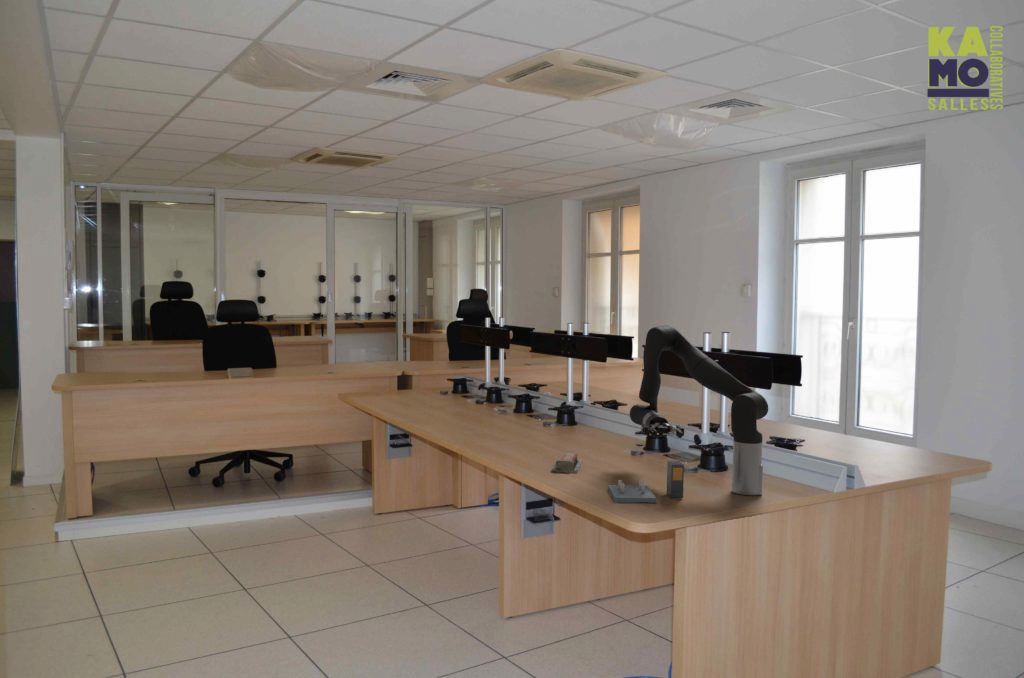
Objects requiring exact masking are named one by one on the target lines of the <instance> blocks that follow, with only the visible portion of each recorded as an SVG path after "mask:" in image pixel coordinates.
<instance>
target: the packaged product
mask: <svg viewBox="0 0 1024 678" xmlns="http://www.w3.org/2000/svg"><path fill="white" fill-rule="evenodd" d="M581 465H583V459H578V453H576V452H574V451H572V452H571V451H569V452H564V453H563V452H562V453H561V454H560V455H559V456H558V458H557V460H556V462H555V463H554V465H553V467H552V468H551V472H552V471H562V472H561V473H569V472H574V473H573V474H577V473H579V471H580V469H581V468H580V467H582V466H581Z"/></svg>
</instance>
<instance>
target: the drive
mask: <svg viewBox="0 0 1024 678" xmlns="http://www.w3.org/2000/svg"><path fill="white" fill-rule="evenodd" d="M666 465H667V466H666V467H667V468H666V495H667V494H668V495H667V497H669V498H670V499H677V498H683V499H684V480H685V479H684V478H685V477H684V475H685V473H684V472H685V464H684V463H683V462H681V460H667V464H666Z"/></svg>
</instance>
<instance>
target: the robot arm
mask: <svg viewBox="0 0 1024 678" xmlns="http://www.w3.org/2000/svg"><path fill="white" fill-rule="evenodd" d="M644 348H645V349H644V363H643V365H644V366H643V374H642V380H641V384H640V389H639V392H638V398H639V400H641V401H642V402H643V403H647V404H649V405H645V404H634V405H632V406H631V407H630V410H629V418H630V420H631V422H633V423H634V424H636V425H637V426H640V427H641V428H640V431H641V432H642V434H643V435H645V436H647V435H648V434H649V436H652V437H654V438H662V437H664V436H670V437H673V436H676V437H677V438H678V439H681V438H682V437H684V436H685V429H686V428H684V427H683V426H681V425H679V424H676V425H672V424H670V423H669V421H668V420H667V419H666V418H665V417H664V416H662V414H660V413H659V412H658V398H659V392H660V390H661V389H660V388H661V384H662V383H661V381H662V379H661V373H660V368H659V360H660V357H661V354H662V352H665V351H670V352H671V353H673V354H674V355H676V356H677V357H678V358H680V359H681V361H682V362H683V365H684V367H685V369H686V371H687V373H688V375H689V376H690V377H691V378H692V379H694V380H695V381H696V382H697V383H699V384H700V385H701V386H702V387H704V388H706V389H707V390H710V391H712V392H714V393H717V394H719V395H722V396H723V397H725V398H727V399H729V400H730V401H731V402H732V403H731V407H730V423H731V424H730V427H731V428H730V429H731V433H732V435H733V437H732V438H733V443H732V444H733V445H732V447H733V449H732V476H731V479H732V480H731V492H732V493H734V494H738V495H742V496H743V495H744V496H758V495H759V496H762V495H763V477H764V476H763V475H764V474H763V473H764V472H763V471H764V469H763V468H764V467H763V465H762V463H763V434H762V433H761V432H760V431H758V427H757V420H758V421H759V420H762V419H763V418H765V417H766V416H767V415H768V413H769V404H768V402H767V400H766V398H765V397H764V396H763V395H762V394H760V393H759V392H757V391H755V389H752V388H751V387H749V386H747V385H746V384H744V383H743V382H741V381H740V380H739V379H737V378H736V377H735V376H734V375H733V374H731V373H729V372H728V371H727V370H726V369H725V368H723V367H722V366H721V365H720V364H718V363H717V362H716V361H715V360H713V359H712V358H711V357H709V356H708V355H707V354H705V353H704V352H703V351H702V350H700V349H699V348H698V347H696V345H693V343H691V342H690V341H689V340H688V339H687V338H686V337H685V336H684V335H683V334H682V333H681V332H680V331H678V329H677V328H676V327H674V326H672V325H669V324H668V325H667V324H664V325H657V326H653V327H651V328H650V329H649V330H648V331H647V333H646V337H645V346H644Z"/></svg>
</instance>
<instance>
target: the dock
mask: <svg viewBox="0 0 1024 678" xmlns="http://www.w3.org/2000/svg"><path fill="white" fill-rule="evenodd" d="M607 490H609V491H608V493H609V494H610V495H611V497H612V499H613V501H614V502H615V503H634V502H652V503H653V504H654V502H656V503H657V496H656V495H655V494H654V493H653V492H652V490H651V489H650V488H649V487H648V485H646V483H643V479H642V480H638V485H635V484H633V485H631V484H628V485H625V483H623V480H622V479H619V480H618V481H617V484H609V485H607ZM652 503H651V504H652Z"/></svg>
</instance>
